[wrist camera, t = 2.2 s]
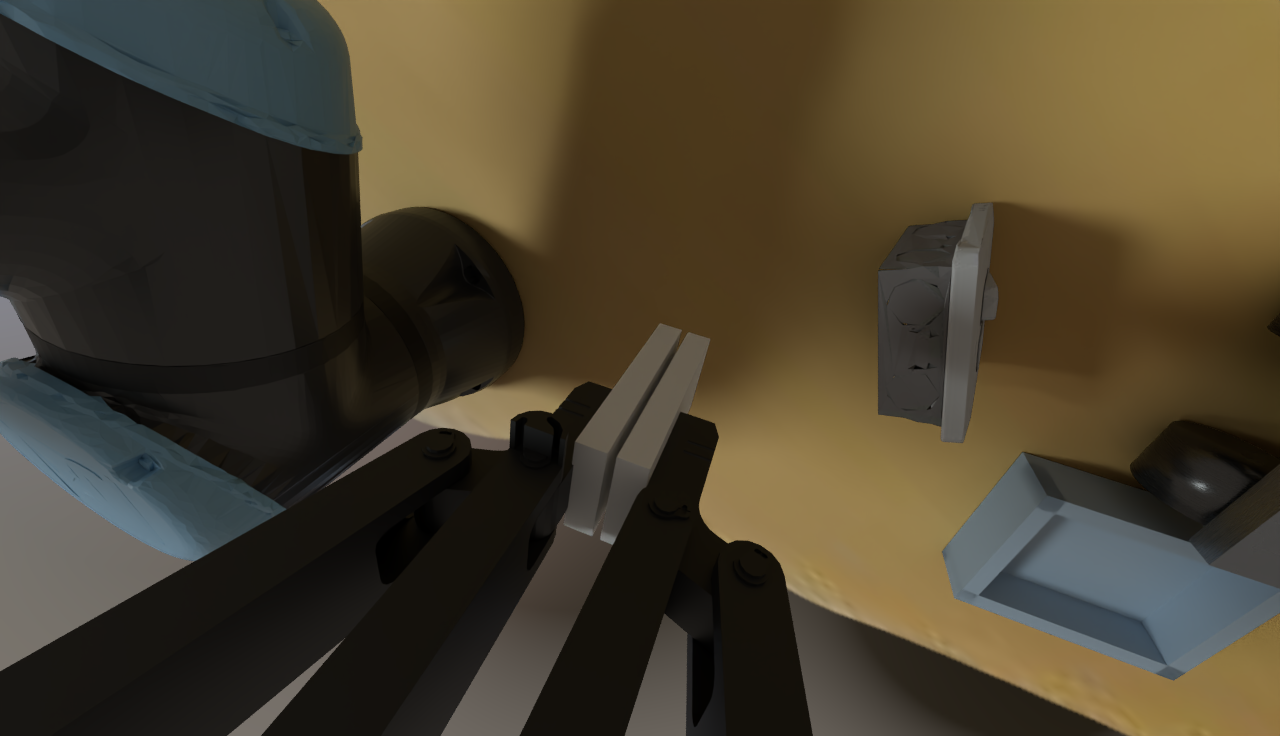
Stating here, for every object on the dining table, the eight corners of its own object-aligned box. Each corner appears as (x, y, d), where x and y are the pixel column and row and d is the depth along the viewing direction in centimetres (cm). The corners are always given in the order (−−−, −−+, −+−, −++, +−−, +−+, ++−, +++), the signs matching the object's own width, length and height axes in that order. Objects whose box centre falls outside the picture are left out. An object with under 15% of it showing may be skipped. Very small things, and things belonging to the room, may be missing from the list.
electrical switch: (977, 359, 29) (1008, 454, 21) (880, 359, 31) (878, 445, 24) (992, 197, 25) (1037, 244, 18) (880, 211, 27) (878, 258, 20)
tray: (942, 551, 36) (954, 598, 32) (1022, 452, 30) (1047, 495, 27) (1138, 622, 33) (1173, 680, 30) (1262, 528, 28) (1322, 586, 25)
